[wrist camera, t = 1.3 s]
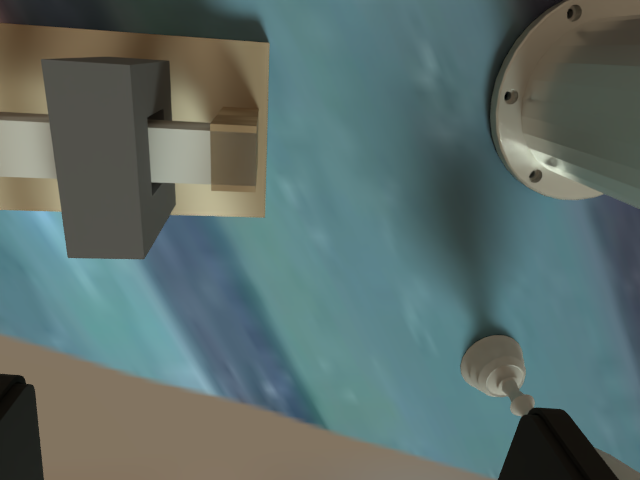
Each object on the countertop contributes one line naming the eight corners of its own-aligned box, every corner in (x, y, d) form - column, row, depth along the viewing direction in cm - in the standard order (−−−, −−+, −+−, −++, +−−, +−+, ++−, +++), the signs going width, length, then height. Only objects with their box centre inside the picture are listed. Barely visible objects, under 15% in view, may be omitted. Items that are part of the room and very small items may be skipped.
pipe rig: (269, 43, 27) (270, 40, 19) (264, 209, 31) (264, 263, 23) (-249, 4, 24) (-494, -17, 16) (-186, 195, 28) (-362, 252, 20)
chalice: (527, 395, 39) (722, 651, 22) (447, 404, 39) (585, 674, 22) (539, 318, 36) (769, 544, 20) (452, 326, 36) (614, 567, 19)
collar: (169, 60, 24) (129, 65, 17) (176, 204, 27) (144, 259, 20) (107, 56, 24) (40, 59, 17) (120, 202, 26) (68, 257, 19)
